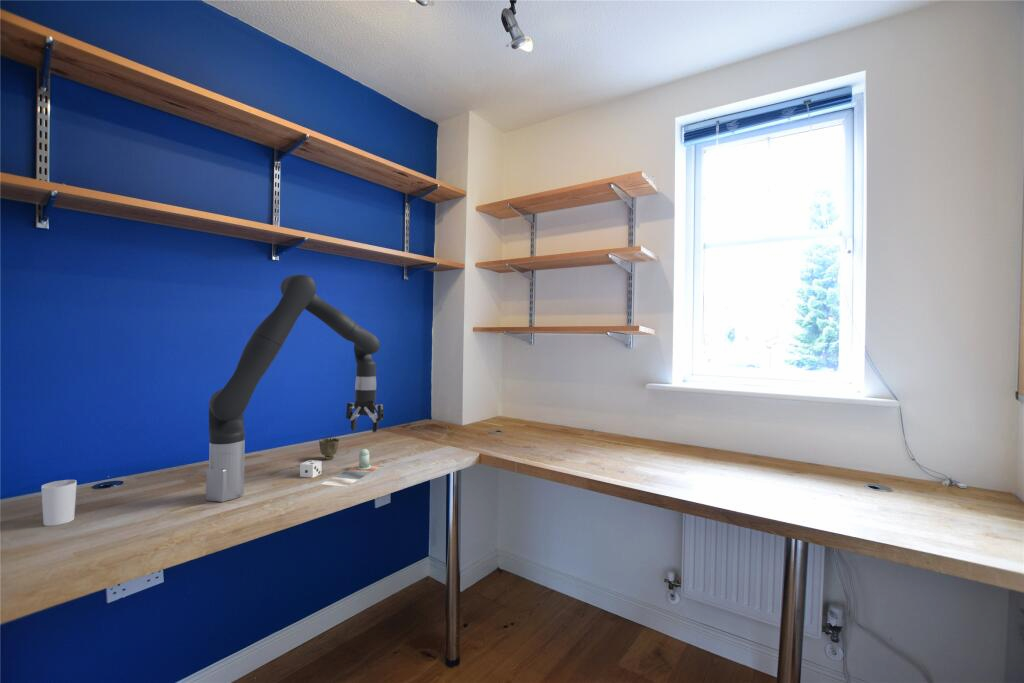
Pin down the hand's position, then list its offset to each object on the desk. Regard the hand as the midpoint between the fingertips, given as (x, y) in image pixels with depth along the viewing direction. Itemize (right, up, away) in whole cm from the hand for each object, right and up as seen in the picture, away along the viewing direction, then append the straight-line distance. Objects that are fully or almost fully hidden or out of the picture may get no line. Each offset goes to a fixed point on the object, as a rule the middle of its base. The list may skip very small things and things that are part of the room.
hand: (364, 431), depth 168 cm
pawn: (0, -14, 0) cm, 14 cm away
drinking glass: (-64, -14, -50) cm, 83 cm away
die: (-16, -14, -9) cm, 23 cm away
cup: (-19, -14, +13) cm, 27 cm away
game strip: (-2, -15, -8) cm, 17 cm away
